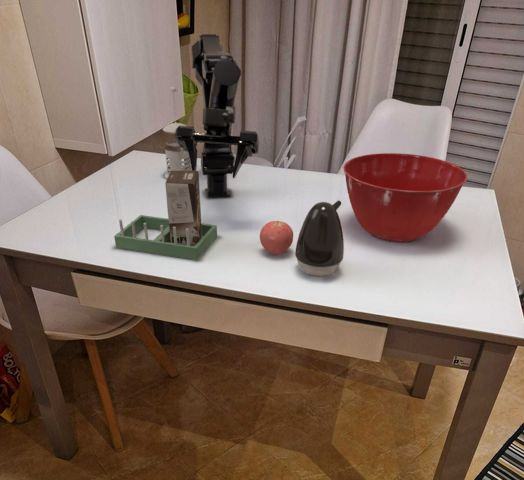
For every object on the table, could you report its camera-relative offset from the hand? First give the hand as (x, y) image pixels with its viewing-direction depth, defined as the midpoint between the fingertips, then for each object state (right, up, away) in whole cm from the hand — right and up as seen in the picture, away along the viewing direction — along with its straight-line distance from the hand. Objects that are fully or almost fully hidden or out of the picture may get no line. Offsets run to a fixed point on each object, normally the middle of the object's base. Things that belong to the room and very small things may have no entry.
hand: (213, 176), depth 114 cm
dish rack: (-11, -14, +4) cm, 19 cm away
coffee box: (-6, -15, +3) cm, 17 cm away
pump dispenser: (+23, -23, -6) cm, 33 cm away
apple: (+14, -18, +1) cm, 23 cm away
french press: (-15, +16, +44) cm, 49 cm away
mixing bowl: (+44, -10, +12) cm, 47 cm away
